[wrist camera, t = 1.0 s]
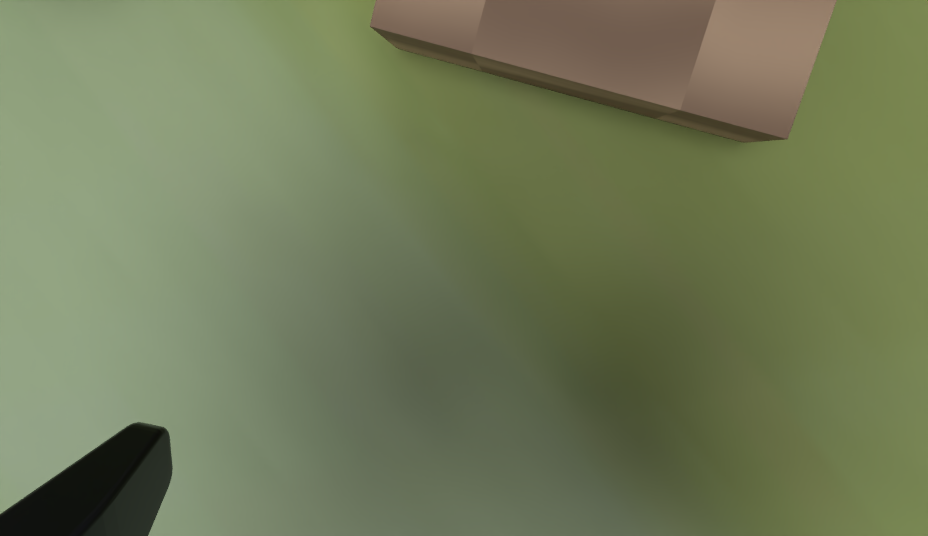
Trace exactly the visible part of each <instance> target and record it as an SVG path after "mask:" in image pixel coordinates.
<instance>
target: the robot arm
mask: <svg viewBox="0 0 928 536" xmlns="http://www.w3.org/2000/svg"><path fill="white" fill-rule="evenodd" d="M171 476H172V457H171V447H170V436H169V432H168V431H167V429H166V428H164V427H161V426H156V425H151V424H146V423H141V422H137V423H133V424H131V425H129V426H127V427H126V428H124V429H123V430H121V431H120V432H118V433H117V434H116V435H114V436H113V437H111V438H110V439H108V440H107V441H105V442H104V443H103V444H101V445H100V446H98V447H97V448H95V449H94V450H92V451H91V452H89V453H88V454H87V455H85V456H84V457H82V458H81V459H79V460H78V461H76V462H75V463H74V464H72V465H71V466H69V467H68V468H66V469H65V470H63V471H62V472H61V473H59V474H58V475H56V476H55V477H53V478H52V479H50V480H49V481H47V482H46V483H45V484H43V485H42V486H40V487H39V488H37V489H36V490H34V491H33V492H32V493H30V494H29V495H27V496H26V497H24V498H23V499H21V500H20V501H19V502H17V503H16V504H14V505H13V506H11V507H10V508H8V509H7V510H5V511H4V512H3V513H1V514H0V536H148V534H149V532H150V530H151V527H152V525H153V523H154V520H155V518H156V515H157V513H158V511H159V508H160V506H161V503H162V501H163V499H164V496H165V494H166V491H167V489H168V487H169V484H170V480H171Z"/></svg>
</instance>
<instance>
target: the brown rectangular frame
mask: <svg viewBox="0 0 928 536" xmlns="http://www.w3.org/2000/svg"><path fill="white" fill-rule="evenodd" d="M836 1H837V0H376V2H375V6H374V11H373V15H372V19H371V23H370V27H371V28H373V29H374V30H375V31H376V32H378V33H379V34H380V35H381V36H383V37H384V38H385V39H386V40H388V41H389V42H390V43H391V44H393V45H394V46H395V47H396V48H398V49H401V50H405V51H409V52H412V53H416V54H420V55H423V56H427V57H431V58H434V59H438V60H442V61H446V62H449V63H453V64H457V65H460V66H464V67H468V68H471V69H475V70H479V71H482V72H486V73H490V74H493V75H497V76H501V77H504V78H508V79H512V80H516V81H519V82H523V83H527V84H530V85H534V86H538V87H541V88H545V89H549V90H552V91H556V92H560V93H563V94H567V95H571V96H574V97H578V98H582V99H585V100H589V101H593V102H597V103H600V104H604V105H608V106H611V107H615V108H619V109H622V110H626V111H630V112H633V113H637V114H641V115H644V116H648V117H652V118H655V119H659V120H663V121H667V122H670V123H674V124H678V125H681V126H685V127H689V128H692V129H696V130H700V131H703V132H707V133H711V134H714V135H718V136H722V137H725V138H729V139H733V140H736V141H740V142H757V141H770V140H783V139H788V136H789V133H790V131H791V128H792V125H793V122H794V119H795V116H796V114H797V111H798V108H799V105H800V102H801V99H802V97H803V94H804V91H805V88H806V85H807V83H808V80H809V77H810V74H811V71H812V68H813V66H814V63H815V60H816V57H817V54H818V52H819V49H820V46H821V43H822V40H823V37H824V35H825V32H826V29H827V26H828V23H829V20H830V18H831V15H832V12H833V9H834V6H835V4H836Z"/></svg>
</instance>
